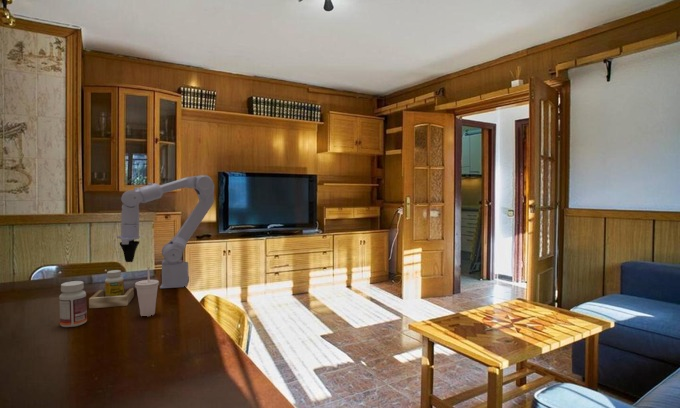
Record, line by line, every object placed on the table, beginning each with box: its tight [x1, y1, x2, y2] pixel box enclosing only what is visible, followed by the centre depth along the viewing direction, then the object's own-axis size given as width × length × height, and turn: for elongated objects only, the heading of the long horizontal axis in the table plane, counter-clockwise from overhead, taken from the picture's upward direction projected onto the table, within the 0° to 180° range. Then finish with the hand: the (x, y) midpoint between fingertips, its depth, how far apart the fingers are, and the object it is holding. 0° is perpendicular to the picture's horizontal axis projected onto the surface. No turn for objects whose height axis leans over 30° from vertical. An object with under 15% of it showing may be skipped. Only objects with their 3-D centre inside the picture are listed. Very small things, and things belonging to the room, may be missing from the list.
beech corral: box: [88, 287, 135, 309], centre depth 127 cm, size 10×10×3 cm
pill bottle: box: [58, 280, 88, 328], centre depth 107 cm, size 6×6×11 cm
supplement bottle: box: [104, 269, 125, 297], centre depth 129 cm, size 5×5×10 cm
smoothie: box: [134, 266, 160, 317], centre depth 115 cm, size 6×6×14 cm
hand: (129, 261), depth 141 cm, fingers closed
